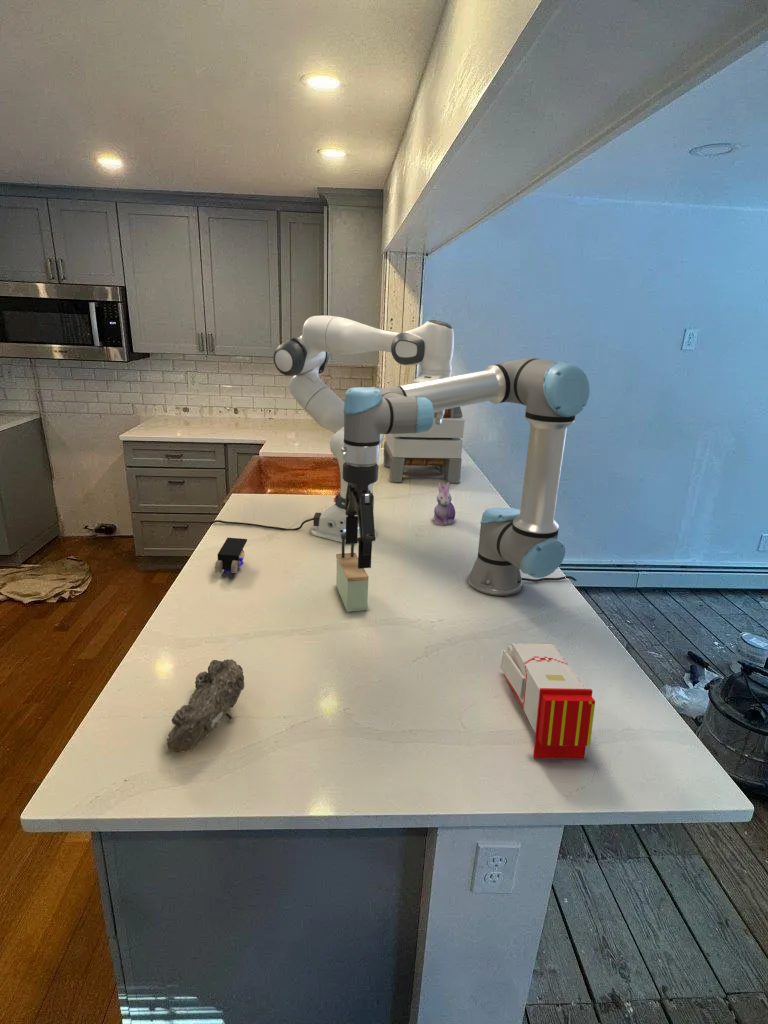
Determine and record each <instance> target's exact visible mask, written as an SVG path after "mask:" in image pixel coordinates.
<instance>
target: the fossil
mask: <svg viewBox="0 0 768 1024" xmlns="http://www.w3.org/2000/svg"><path fill="white" fill-rule="evenodd" d="M243 670H244V669H243V667H242V665H240V664H237V662H236V661H235V660H234V659H232V658H231V659H227V658H226V659H224V660H223V661H222V660H217V659H212V660H211V661H210V663H209V665H208V666H207V671H201V672H199V673H198V674H197V675H196V676H195V680H194V684H195V685H194V687H195V689H194V690H193V693H192V694H191V697H190V698H189V700H188V704H184V705H182V706H181V707H180V709H177V710H176V711H175V713H174V715H173V716H172V718H171V723H172V724H173V727H172V730H171V731H170V732H168V734H167V738H166V741H167V742H166V745H167V749H168V750H169V751H173V752H174V753H176V754H178V753H182V752H188V751H189V752H192V751H193V750H195V748H196V747H197V746H199V744H200V743H201V742H203V741H204V740H205V739H206V738H207V737H208V736H209V735H210V734H211V733H212V732H214V730H215V729H217V727H218V726H219V724H220V722H221V721H222V720H223V719H224V718H225V716H226V717H227V719H229V720H233V717H232V715H230V714H229V710H230V709H231V708H234V706H235V704H236V703H237V702H238V699H239V697H240V695H241V693H242V691H243V690H245V689H244V688H245V675H244V671H243Z"/></svg>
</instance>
